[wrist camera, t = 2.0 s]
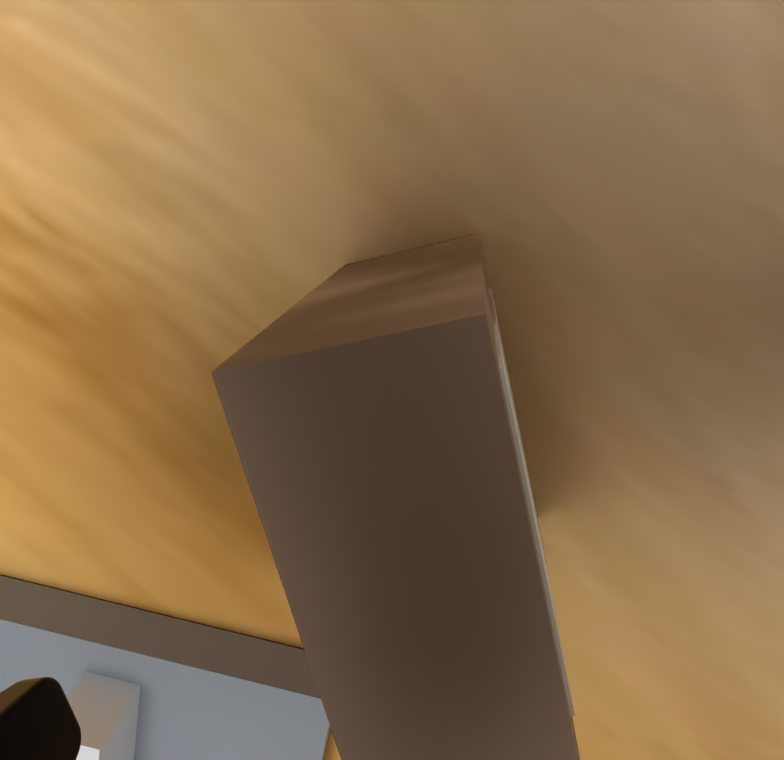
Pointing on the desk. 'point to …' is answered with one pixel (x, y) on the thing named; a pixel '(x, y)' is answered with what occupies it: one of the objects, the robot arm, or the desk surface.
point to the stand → (161, 680)
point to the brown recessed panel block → (405, 511)
